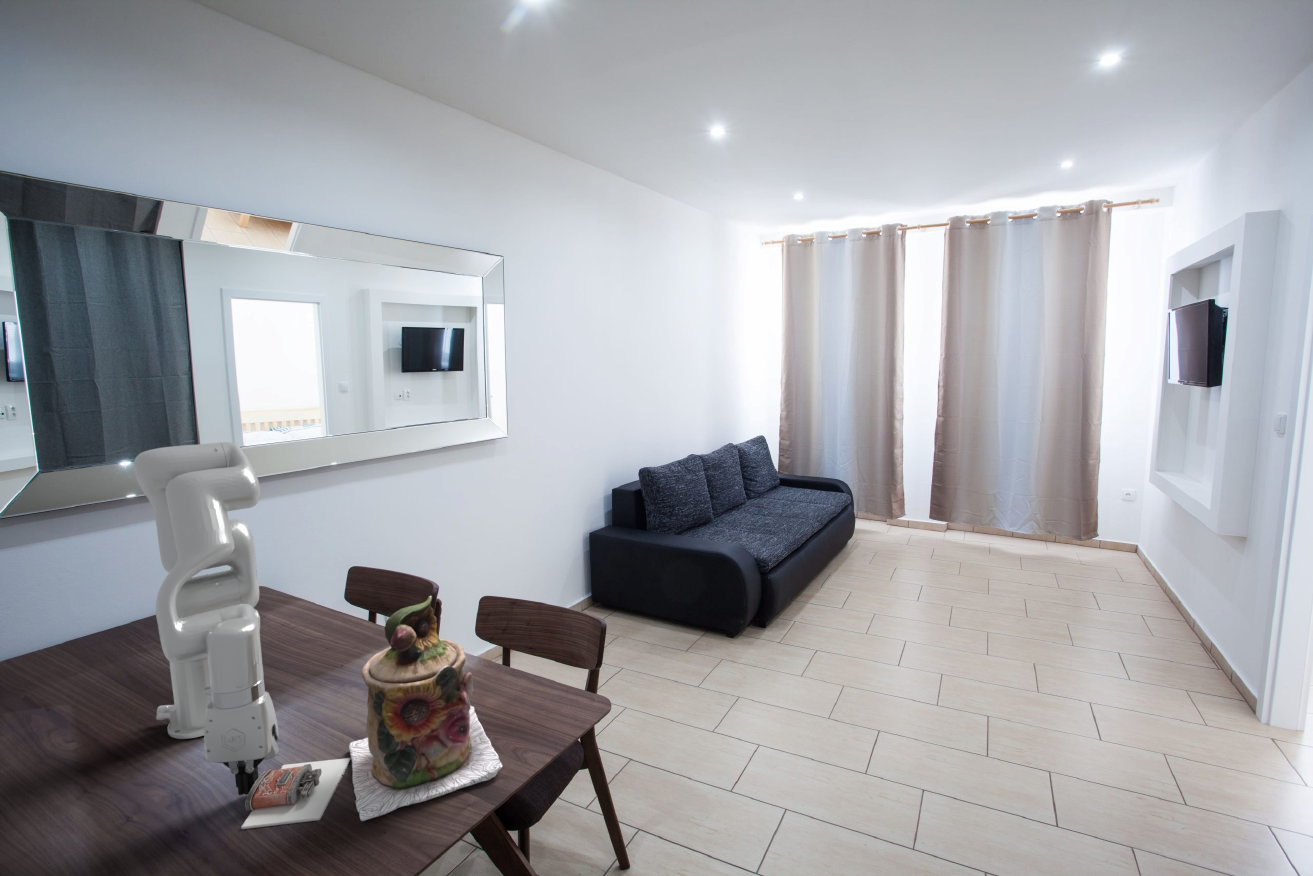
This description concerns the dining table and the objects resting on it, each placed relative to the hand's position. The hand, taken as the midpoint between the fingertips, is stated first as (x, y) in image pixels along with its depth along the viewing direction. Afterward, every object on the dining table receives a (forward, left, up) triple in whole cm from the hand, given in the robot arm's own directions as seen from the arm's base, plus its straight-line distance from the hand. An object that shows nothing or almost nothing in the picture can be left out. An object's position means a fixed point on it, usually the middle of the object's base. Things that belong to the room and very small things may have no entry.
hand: (248, 789), depth 110 cm
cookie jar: (+29, +5, -2) cm, 29 cm away
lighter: (+2, -1, 0) cm, 2 cm away
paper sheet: (+8, 0, -2) cm, 9 cm away
